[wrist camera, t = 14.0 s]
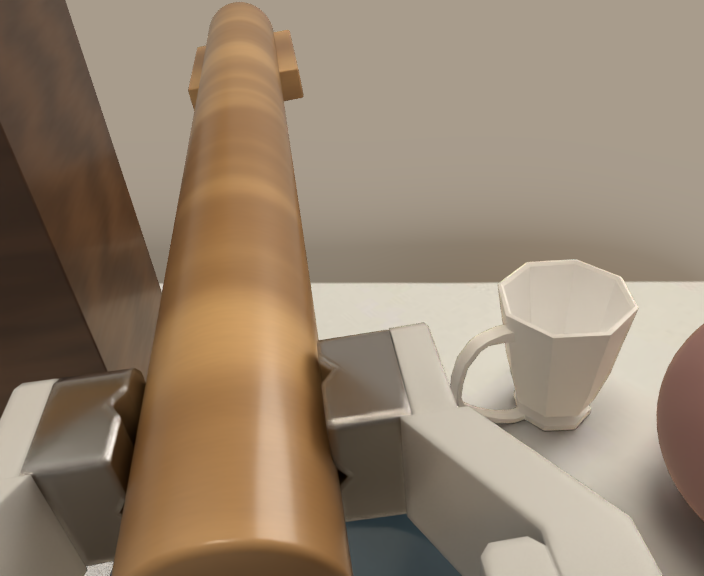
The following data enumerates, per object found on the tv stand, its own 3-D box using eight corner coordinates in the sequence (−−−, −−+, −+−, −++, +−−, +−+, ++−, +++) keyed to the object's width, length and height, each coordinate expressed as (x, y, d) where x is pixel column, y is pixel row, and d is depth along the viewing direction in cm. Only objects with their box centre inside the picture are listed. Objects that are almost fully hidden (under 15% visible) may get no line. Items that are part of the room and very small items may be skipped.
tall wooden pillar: (160, 495, 35) (-46, 17, 20) (12, 518, 35) (-306, 49, 20) (181, 351, 45) (52, -42, 30) (66, 368, 44) (-122, -21, 30)
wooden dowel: (426, 637, 7) (404, 507, 6) (97, 708, 7) (-10, 595, 5) (294, 55, 25) (281, -11, 24) (204, 73, 25) (185, 8, 24)
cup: (641, 425, 36) (671, 312, 31) (485, 487, 33) (491, 376, 29) (565, 350, 41) (579, 244, 36) (425, 399, 39) (421, 293, 34)
